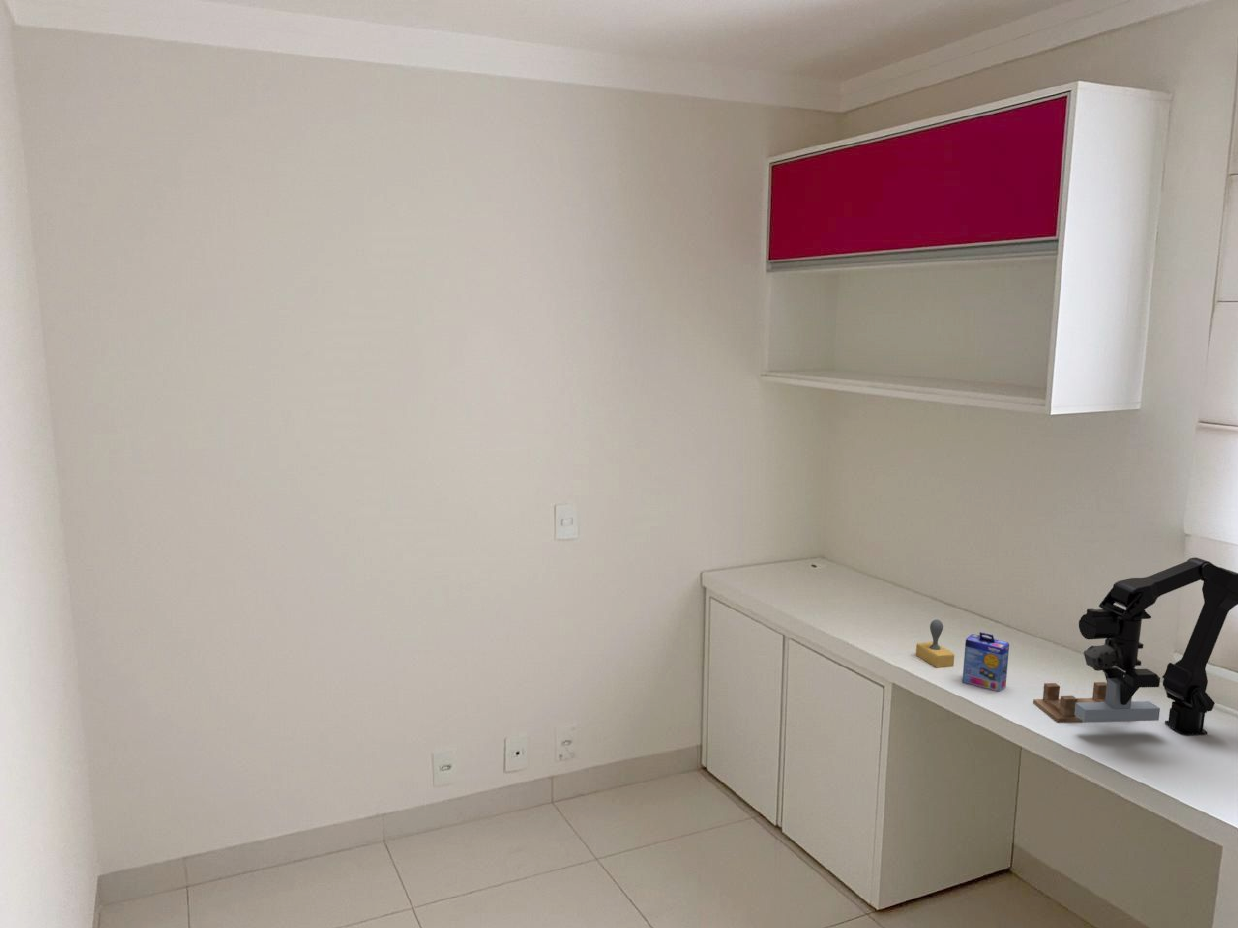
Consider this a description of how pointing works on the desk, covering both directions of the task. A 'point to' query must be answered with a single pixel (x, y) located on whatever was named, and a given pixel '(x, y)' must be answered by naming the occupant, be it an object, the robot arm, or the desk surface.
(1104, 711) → the bar
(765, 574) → the desk surface
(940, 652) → the rubber stamp
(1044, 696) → the cradle
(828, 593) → the desk surface
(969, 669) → the ink cartridge box
